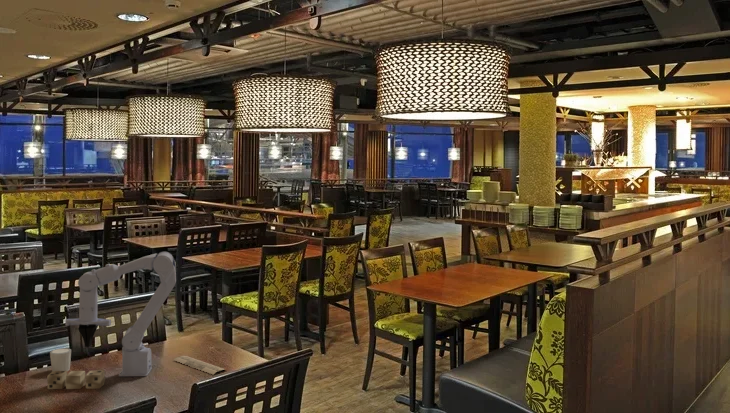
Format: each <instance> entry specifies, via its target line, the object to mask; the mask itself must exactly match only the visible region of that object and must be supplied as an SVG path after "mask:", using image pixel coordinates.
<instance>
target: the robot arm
mask: <svg viewBox="0 0 730 413" xmlns="http://www.w3.org/2000/svg"><path fill="white" fill-rule="evenodd" d="M141 269H146V270H149V271H152V270H154V271H155V272H156V274H157V275H158V277H159V281H160V283H159V285H158V286H157V288H156V290H155V291H154V293H153V294H152V296H151V297H150V299H149V301H148V302H147V304H146V306H145V307H144V308H143V310H142V312H141V313H140V315H139V316H138V318H137V319H136V320H135V322H134V323H133V325H131V326H130V327H129V328H127V329H126V331H125V333H124V335H123V337H122V339H121V345H122V347H121V348H122V349H121V354H122V363H121V364H122V371H121V372H119V374H118V377H147V376H148V375H149V373H150V372H151V371H152V369H153V367H152V364H153V363H152V349H151V347H146V346H145V345H144V343H143V339H144V337H145V333H146V332H147V329H148V328H149V326H150V325H151V323H152V322H153V320H154V318H155V317H156V315H157V314H158V312H159V311H160V309H161V307H162V306H163V304H164V303H165V301H166V300H167V299H168V296H169V295H170V293H171V292H172V291H173V289H174V287H175V286H176V282H177V273H176V272H177V271H176V260H175V258H174V256H173V255H172V253H171V252H168V251H160V252H159V253H152V254H150V255H145V256H142V257H140V258H137V259H134V260H131V261H129V262H126V263H124V264H120V265H117V264H114V263H112V264H110V263H107V264H105V266H104V267H100V268H98V269H95V268H94V269H91V271H87V272H84V273H83V275H81V276H80V277H79V279H78V281H77V285H78V288H79V297H78V298H79V302H78V304H79V308H78V310H79V313H78V316H79V317H78V318H67V319H65V324H64V325H65V326H66V327H69V326H79V327H78V328H77V331H78V332H79V333H80V335H81V338H82V339H83V340H82V341H83V343H84V347H86V348H89V347H91V346H92V342H93V339H94V335H95V333H96V331H97V329H98V327H100V326H101V327H104V326H105V327H111V325H112V319H110V318H109V319H107V318H98V311H99V310H98V303H99V302H98V301H99V300H98V297H99V295H98V286H99V287H100V286H105V285H107V284H110V283H113V282H116V281H119V280H120V279H121V277H122V275H125V274H129V273H132V272H135V271H138V270H141Z"/></svg>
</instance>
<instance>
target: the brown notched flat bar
mask: <svg viewBox="0 0 730 413" xmlns="http://www.w3.org/2000/svg"><path fill="white" fill-rule="evenodd" d="M173 360H174V361H173V362H175V361H177V362H176V363H178V362H180V363H182V364H181V365H183V364H185V365H184V366H186V365H188V366H187V367H189V366H190V367H189V368H192V369H194V368H196V369H195V370H197V369H198V371H200V370H201V371H200V372H203V371H204V372H203V373H206V372H207V373H206V374H208V373H209V375H211V374H212V376H214V375H215V374H216V373H217V372H221V371H223V370H225V369H226V368H223V367H220V366H217V365H213V364H211V363H208V362H205V361H203V360H200V359H197V358H193V357H191V356H188V355H181V356H178V357H175V358H174V359H173ZM180 363H179V364H180Z"/></svg>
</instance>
